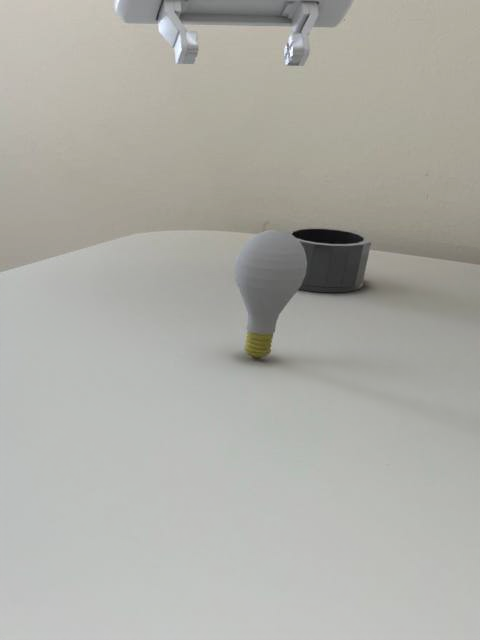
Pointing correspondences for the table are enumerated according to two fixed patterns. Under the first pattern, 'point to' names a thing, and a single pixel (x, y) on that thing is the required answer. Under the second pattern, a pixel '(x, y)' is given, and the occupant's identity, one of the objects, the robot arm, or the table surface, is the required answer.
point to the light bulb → (268, 283)
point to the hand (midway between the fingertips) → (243, 59)
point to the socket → (333, 258)
